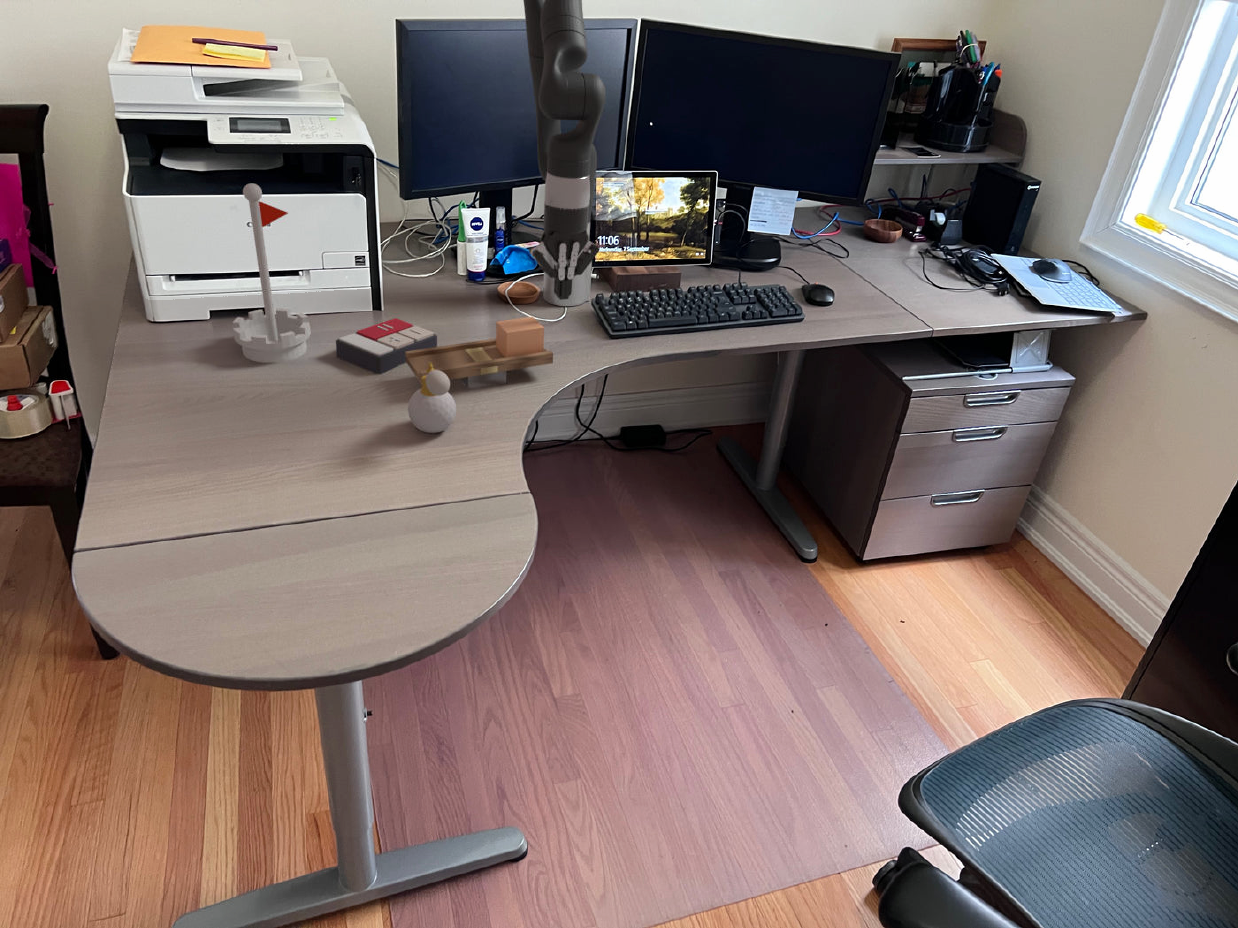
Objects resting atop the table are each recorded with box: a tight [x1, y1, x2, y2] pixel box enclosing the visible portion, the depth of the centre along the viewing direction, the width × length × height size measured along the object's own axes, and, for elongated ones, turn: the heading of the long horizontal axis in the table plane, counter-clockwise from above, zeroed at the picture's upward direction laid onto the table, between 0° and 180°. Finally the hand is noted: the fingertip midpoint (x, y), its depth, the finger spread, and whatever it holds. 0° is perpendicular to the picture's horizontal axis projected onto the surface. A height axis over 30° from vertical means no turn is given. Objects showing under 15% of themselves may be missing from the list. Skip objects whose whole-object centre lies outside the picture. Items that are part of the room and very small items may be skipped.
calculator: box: [335, 318, 438, 375], centre depth 166 cm, size 11×4×15 cm
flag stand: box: [232, 183, 312, 364], centre depth 157 cm, size 13×13×30 cm
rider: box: [495, 316, 545, 358], centre depth 161 cm, size 7×5×5 cm
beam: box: [405, 337, 554, 390], centre depth 160 cm, size 24×9×5 cm, turn 118°
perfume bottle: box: [407, 362, 457, 434], centre depth 141 cm, size 8×10×12 cm
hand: (562, 297), depth 161 cm, fingers closed
